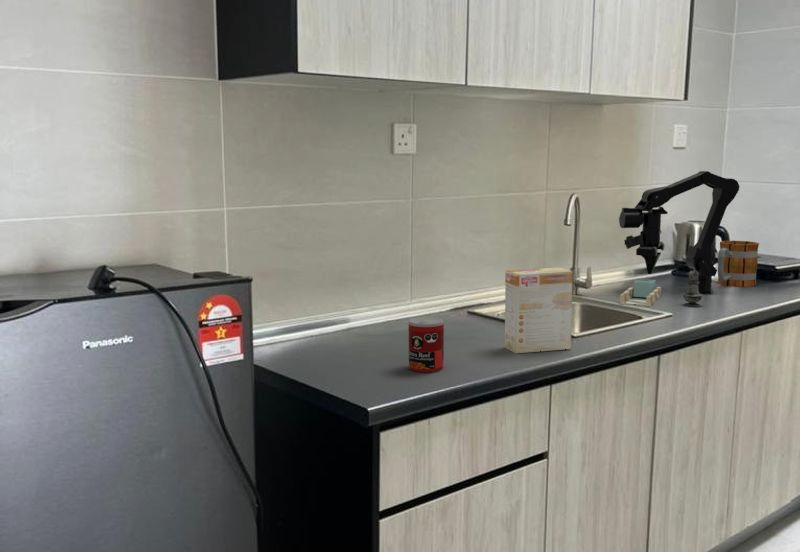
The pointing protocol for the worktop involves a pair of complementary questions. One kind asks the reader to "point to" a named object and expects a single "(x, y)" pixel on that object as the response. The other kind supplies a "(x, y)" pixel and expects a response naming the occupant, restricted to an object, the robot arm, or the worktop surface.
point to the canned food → (426, 344)
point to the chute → (650, 299)
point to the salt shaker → (692, 290)
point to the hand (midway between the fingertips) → (649, 273)
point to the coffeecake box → (538, 309)
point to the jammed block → (643, 287)
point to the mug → (737, 263)
